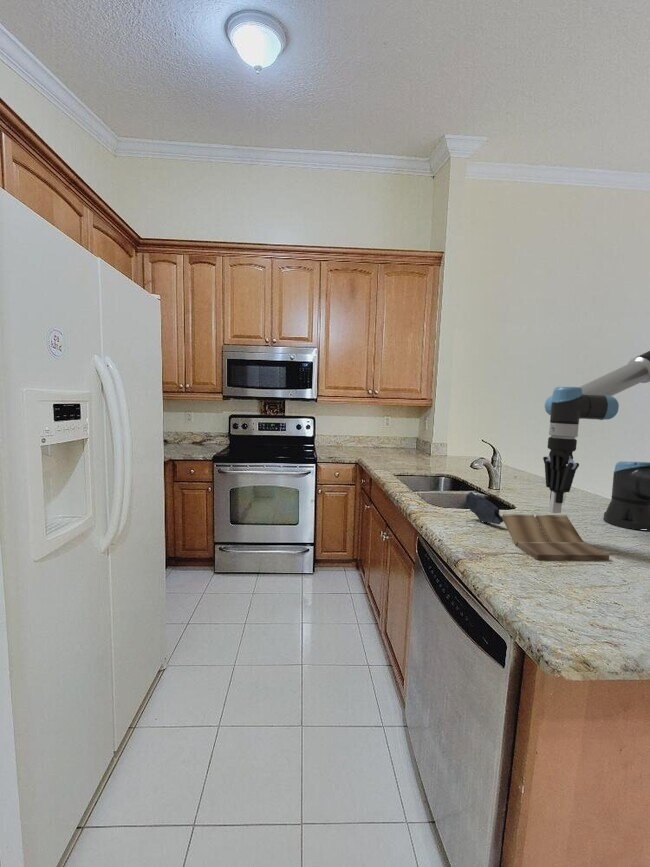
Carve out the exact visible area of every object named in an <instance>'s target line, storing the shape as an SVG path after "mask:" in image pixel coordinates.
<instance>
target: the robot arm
mask: <svg viewBox="0 0 650 867" xmlns="http://www.w3.org/2000/svg"><path fill="white" fill-rule="evenodd" d="M640 383H641V384H647V383H650V350H648V351H646V352H644V353H642V354H640V355H638V356H635V357H633V358H631V359H630V360H629V362H628V363H627V364H625V365H623V366H621V367H619V368H617V369H615V370H612V371H611V372H608V373H606V374H604V375H602V376H600V377H598V378H595V379H593V380H592V381H589V382H587V383H585V384H582V385H580V386H578V387H577V386H557V387H555V388H554V389H553V391H552V395H550V396H549V397H548V398H546V400H545V403H544V410H545V412H546V413H547V414H548V416H550V419H549V431H548V436H549V437H548V438H547V449H548V450H550V451H549V454H548V455H547V456H543V458H542V459H543V462H544V471H545V472H544V473H545V476H544V478H545V486H546V488H548V489H549V491H550V496H549V500H550V503H549V512H550V513H553V514H561V513H562V505H563V502H564V494H565V493H570V491H571V488H572V484H573V481H574V478H575V476H576V475H575V474H576V471H577V470H578V468H579V466H580V464H579V462H576V461H575V460H574V456H573V453H574V452H575V451H576V450H577V443H578V440H577V438H578V436H579V434H578V433H579V424H580V419H583V420H584V419H585V420H600V421H603V420H604V421H605V420H607V421H608V420H612V419H613V418H615V417H616V415H617V414H618V413H619V407H620V405H619V404H620V403H619V401H618V400H617V398H615V397H614V395H617V394H619V393H622V392H623V391H625V390H627V389H630V388H633V387H634V386H636V385H639V384H640ZM614 466H615V467H614V470H613V479H612V487H611V499H610V501H609V503H608V506H607V508H606V511H604V513H603V519H602V520H603V521H604V522H606V523H607V524H610V525H614V526H617V527H620V528H624V527H626V528H625V529H629V528H632V529H631V530H634V529H647V530H650V461H618V462H616V464H615V465H614Z"/></svg>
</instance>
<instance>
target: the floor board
mask: <svg viewBox="0 0 650 867" xmlns="http://www.w3.org/2000/svg"><path fill="white" fill-rule="evenodd" d="M516 546H517V548H518V549H519V550H521V551H522V552H524V553H525V554H526V555H528V556H530V557H532V558H533V559H534V560H536V561H609V560H610V554H608V553H606V552H604V551H603V550H600V549H599V548H596V547H594V546H593V545H590V544H588V543H586V541H585V542H584V541H583V542H549V541H548V542H518V545H516Z"/></svg>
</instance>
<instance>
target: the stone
mask: <svg viewBox="0 0 650 867" xmlns="http://www.w3.org/2000/svg"><path fill="white" fill-rule="evenodd" d="M465 501H466V502H465V506H467V508H468V509H469V510H470V512H472V513H474V515H475V516H476V517H477V518H478V520H479V521H480V522H481V521H483V522H488V523H489V524H494V525H501V523H504V521H503V519H502V516H503V515H501V514H500V508H499V507H498V506H496V505H495V504H494V503H492V502H491V501H489V500H488V499H487V498H485V497H482V496H480V495H478V494H476V493H473V492H472V491H470V492H469V493H467V494H466V496H465Z"/></svg>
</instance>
